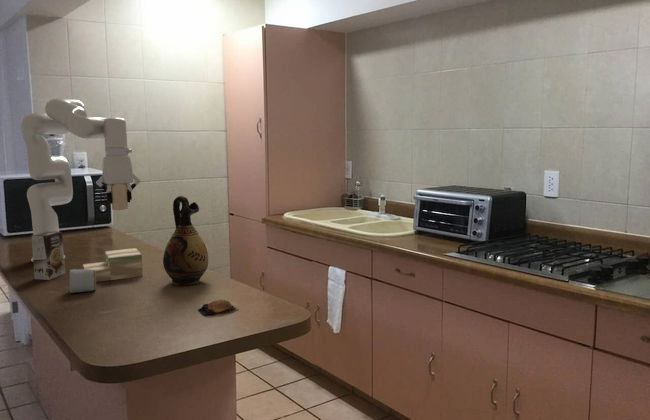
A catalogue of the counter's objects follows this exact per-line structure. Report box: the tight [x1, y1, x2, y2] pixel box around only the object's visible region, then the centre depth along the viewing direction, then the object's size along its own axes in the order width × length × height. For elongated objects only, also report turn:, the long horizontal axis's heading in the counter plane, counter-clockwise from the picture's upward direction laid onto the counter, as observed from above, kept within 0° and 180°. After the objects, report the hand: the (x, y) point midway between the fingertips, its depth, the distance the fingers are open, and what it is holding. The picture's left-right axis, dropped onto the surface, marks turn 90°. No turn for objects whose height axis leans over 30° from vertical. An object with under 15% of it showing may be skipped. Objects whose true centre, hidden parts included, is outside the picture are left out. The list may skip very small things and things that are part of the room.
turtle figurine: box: [197, 299, 239, 317], centre depth 168 cm, size 11×8×4 cm
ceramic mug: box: [69, 268, 97, 294], centre depth 190 cm, size 11×8×8 cm
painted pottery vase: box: [162, 195, 209, 287], centre depth 197 cm, size 17×15×30 cm
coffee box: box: [31, 231, 66, 281], centre depth 207 cm, size 9×6×16 cm
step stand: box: [82, 247, 144, 283], centre depth 209 cm, size 13×19×8 cm
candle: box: [110, 184, 129, 211], centre depth 207 cm, size 6×6×10 cm
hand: (119, 202), depth 207 cm, fingers closed on candle, 5 cm apart
